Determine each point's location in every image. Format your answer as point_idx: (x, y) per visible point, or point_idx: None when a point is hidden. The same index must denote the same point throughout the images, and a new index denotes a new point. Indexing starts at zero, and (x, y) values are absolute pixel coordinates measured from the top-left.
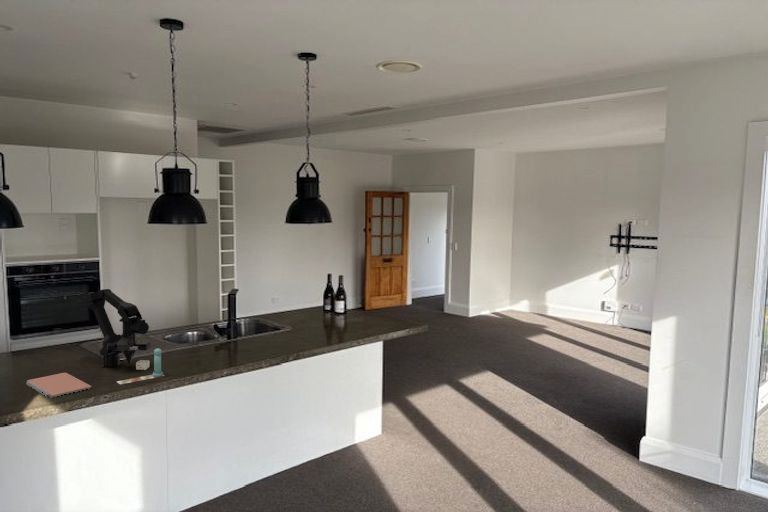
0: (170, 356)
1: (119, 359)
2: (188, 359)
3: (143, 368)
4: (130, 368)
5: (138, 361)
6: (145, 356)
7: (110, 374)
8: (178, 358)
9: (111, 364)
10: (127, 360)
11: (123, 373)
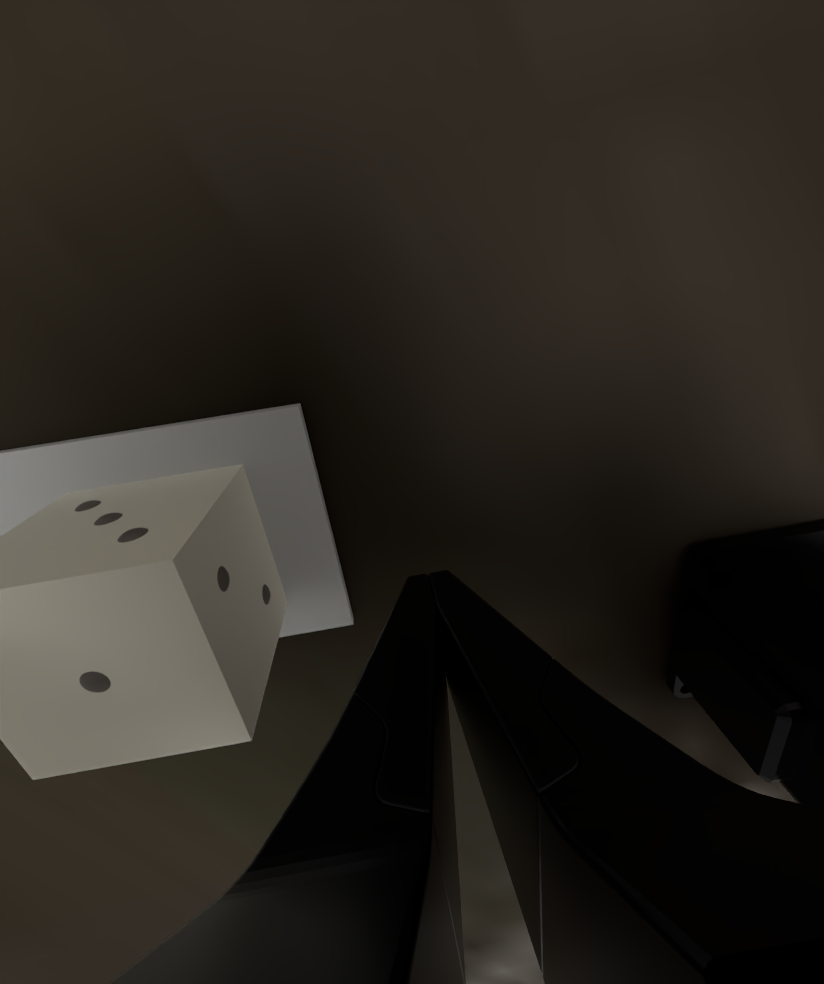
0: None
1: (726, 723)
2: (39, 974)
3: (63, 518)
4: None
5: (199, 655)
6: None
7: (637, 231)
8: None
9: (782, 584)
10: (468, 601)
11: (429, 354)
